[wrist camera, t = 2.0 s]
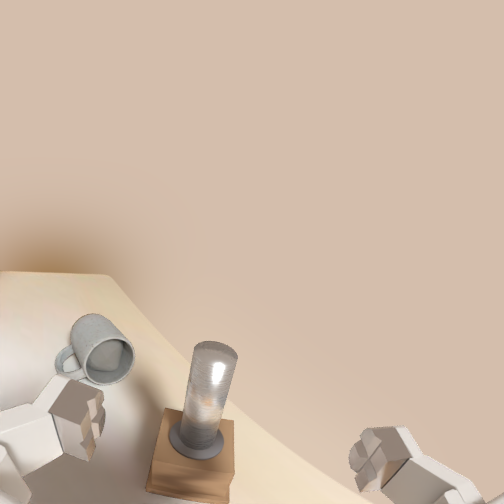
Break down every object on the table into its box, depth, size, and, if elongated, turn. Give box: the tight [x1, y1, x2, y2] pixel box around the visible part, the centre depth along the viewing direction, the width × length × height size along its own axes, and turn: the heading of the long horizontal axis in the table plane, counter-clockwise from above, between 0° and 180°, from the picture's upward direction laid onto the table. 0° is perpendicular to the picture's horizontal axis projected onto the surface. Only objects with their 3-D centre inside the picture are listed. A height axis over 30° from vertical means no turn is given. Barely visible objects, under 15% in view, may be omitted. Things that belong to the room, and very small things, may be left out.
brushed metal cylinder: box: [179, 341, 238, 450], centre depth 22 cm, size 3×3×10 cm
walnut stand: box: [146, 408, 235, 504], centre depth 24 cm, size 8×8×6 cm
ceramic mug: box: [55, 314, 135, 385], centre depth 34 cm, size 11×8×8 cm
